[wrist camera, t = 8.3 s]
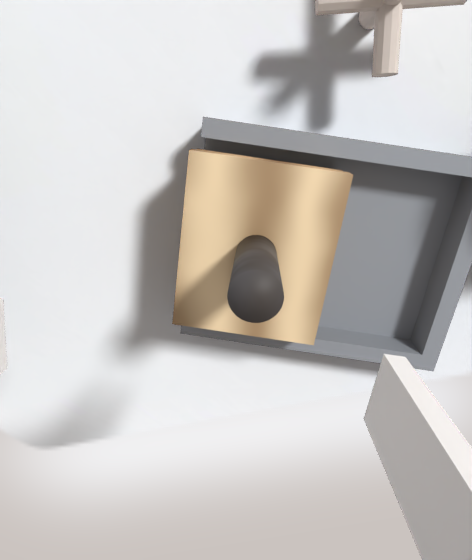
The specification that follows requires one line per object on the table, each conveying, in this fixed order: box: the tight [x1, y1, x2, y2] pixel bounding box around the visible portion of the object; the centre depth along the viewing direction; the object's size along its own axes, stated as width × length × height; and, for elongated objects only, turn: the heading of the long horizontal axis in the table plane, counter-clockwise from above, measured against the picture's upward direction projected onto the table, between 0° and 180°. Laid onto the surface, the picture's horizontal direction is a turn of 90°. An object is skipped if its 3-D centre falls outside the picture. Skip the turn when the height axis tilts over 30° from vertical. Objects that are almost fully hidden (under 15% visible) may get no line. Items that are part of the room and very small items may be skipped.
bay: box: [181, 117, 472, 371], centre depth 36 cm, size 24×19×4 cm
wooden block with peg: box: [172, 149, 353, 345], centre depth 29 cm, size 12×14×15 cm
